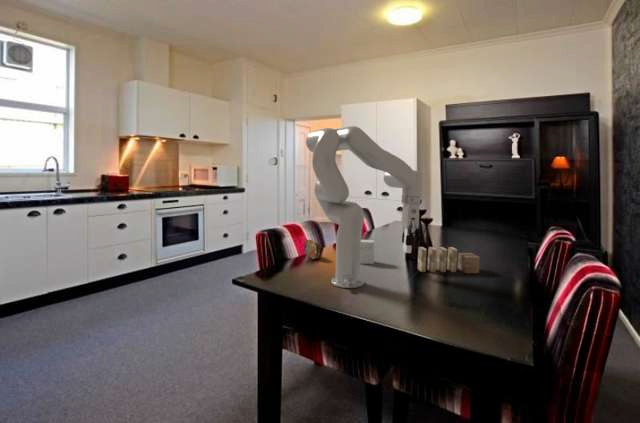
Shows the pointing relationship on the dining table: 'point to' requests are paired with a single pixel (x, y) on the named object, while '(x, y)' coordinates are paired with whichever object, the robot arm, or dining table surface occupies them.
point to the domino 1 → (405, 247)
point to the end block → (468, 262)
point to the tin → (312, 249)
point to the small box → (367, 252)
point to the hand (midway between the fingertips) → (407, 243)
